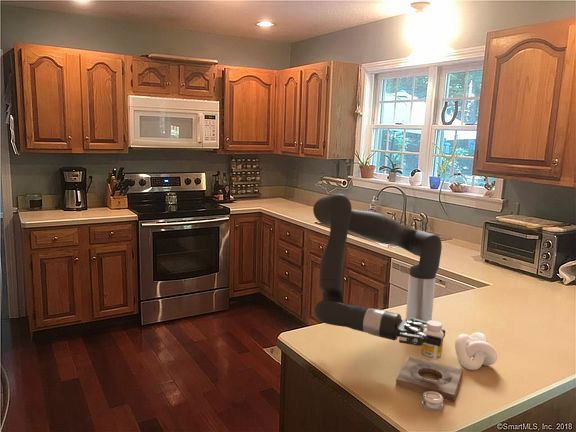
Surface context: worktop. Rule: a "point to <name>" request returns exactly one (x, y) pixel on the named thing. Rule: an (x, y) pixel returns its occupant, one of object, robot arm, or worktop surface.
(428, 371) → the socket board
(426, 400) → the metal grooved wheel
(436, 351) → the supplement bottle
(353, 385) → the worktop surface
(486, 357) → the white knot
